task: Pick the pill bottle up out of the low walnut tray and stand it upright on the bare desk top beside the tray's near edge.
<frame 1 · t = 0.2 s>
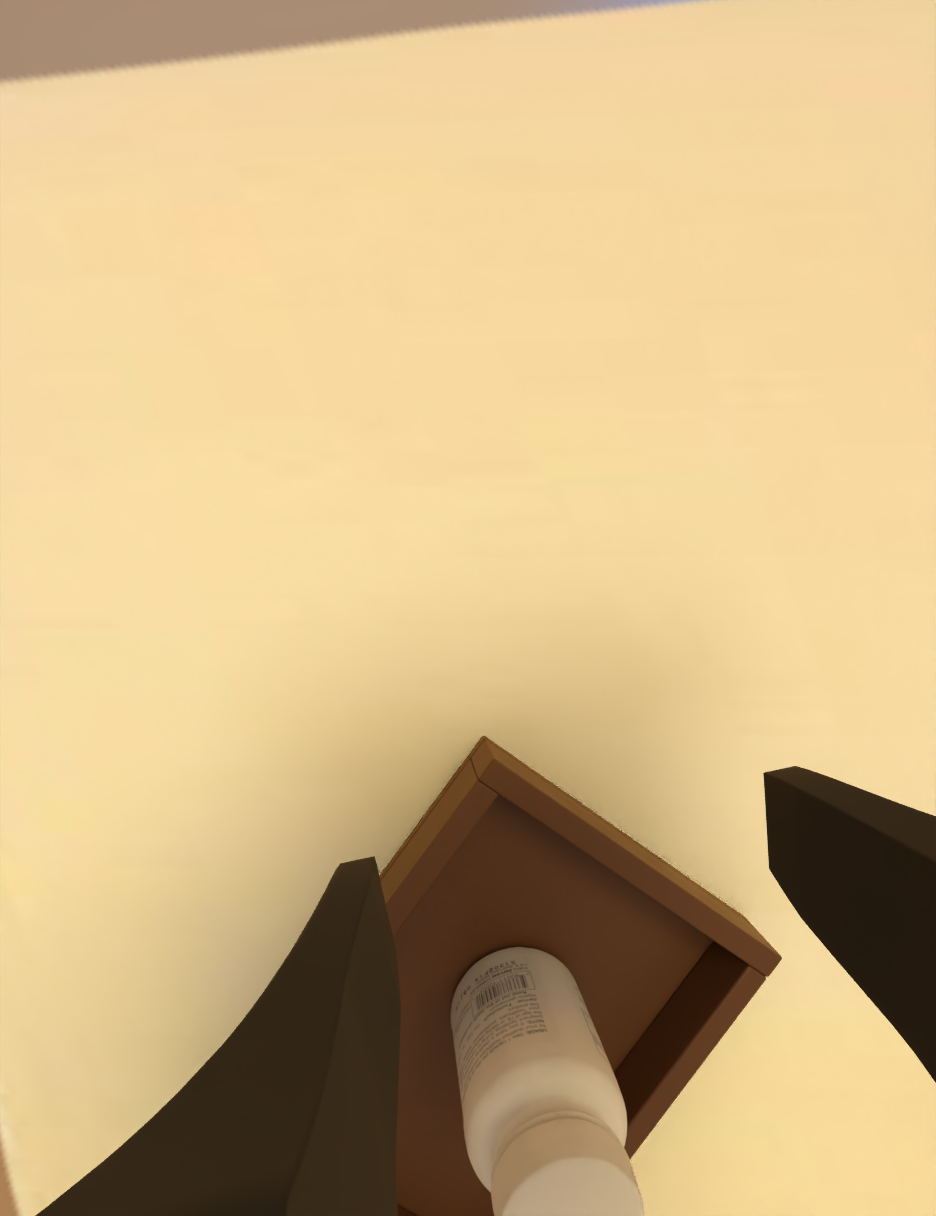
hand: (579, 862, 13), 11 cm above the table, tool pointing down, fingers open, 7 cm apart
pill bottle: (513, 999, 24), resting on tray
tray: (483, 1012, 24), on the table
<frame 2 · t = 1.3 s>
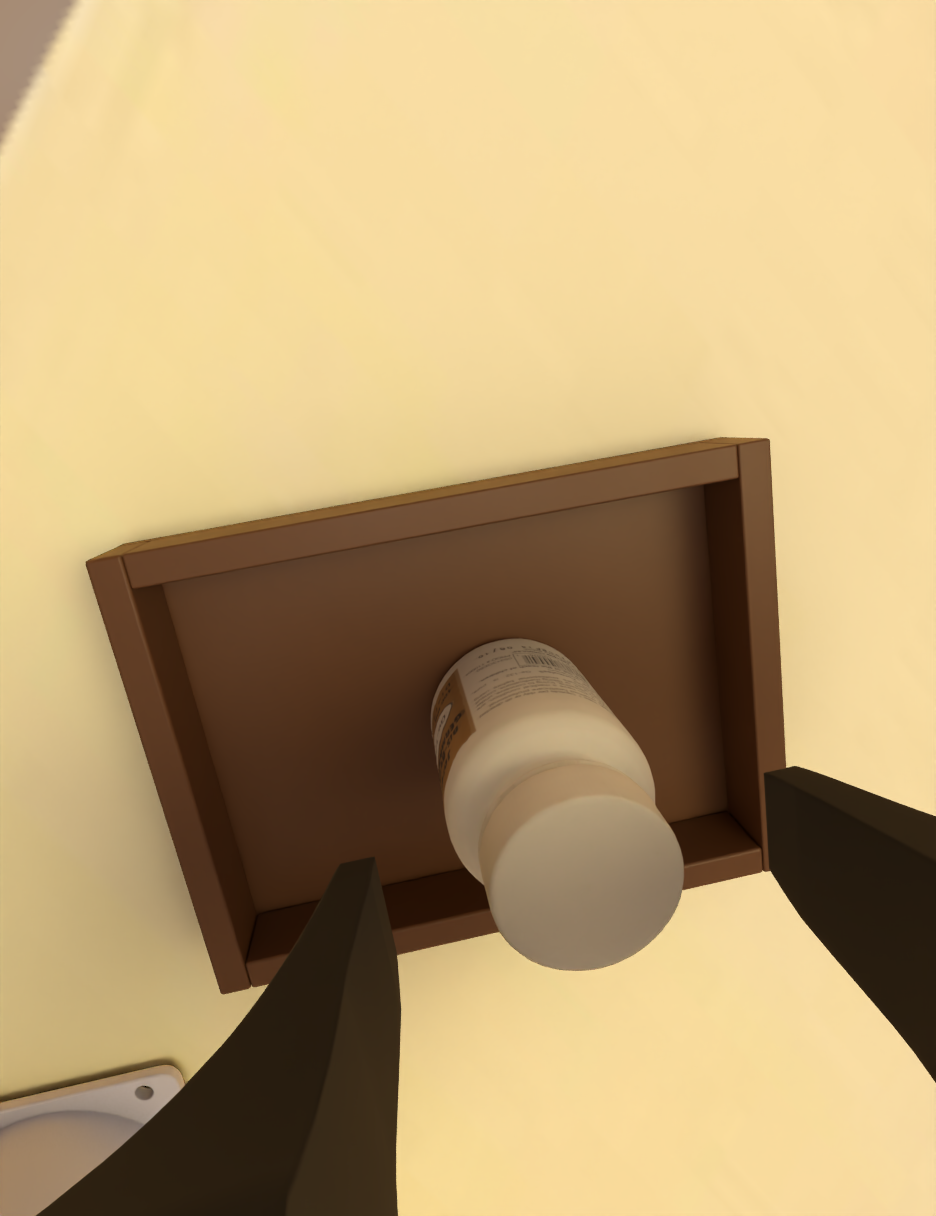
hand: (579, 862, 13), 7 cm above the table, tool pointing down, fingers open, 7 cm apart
pill bottle: (507, 709, 20), resting on tray
tray: (468, 696, 19), on the table
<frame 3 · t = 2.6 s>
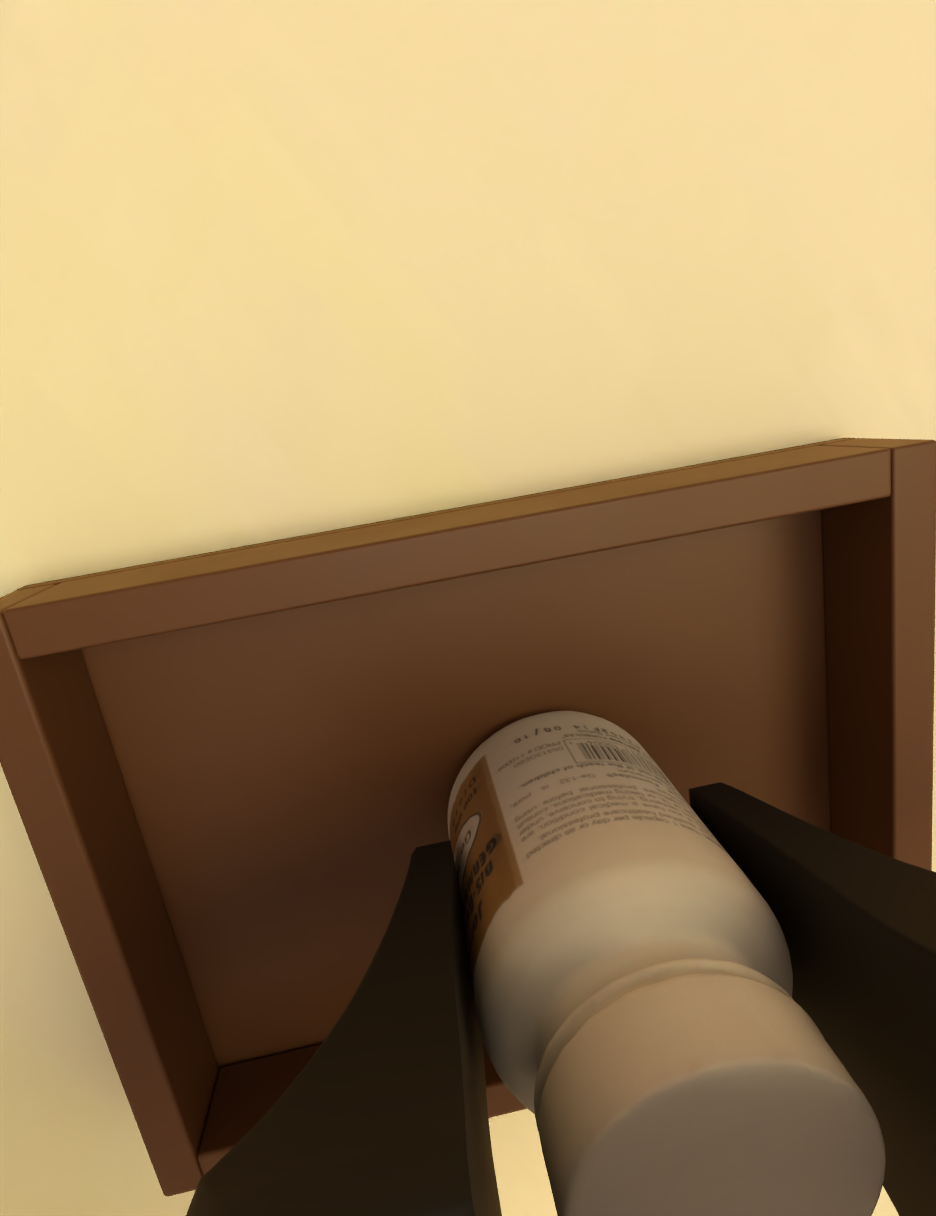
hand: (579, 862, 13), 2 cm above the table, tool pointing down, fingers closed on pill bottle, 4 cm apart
pill bottle: (549, 799, 15), resting on tray, touching gripper
tray: (498, 783, 15), on the table
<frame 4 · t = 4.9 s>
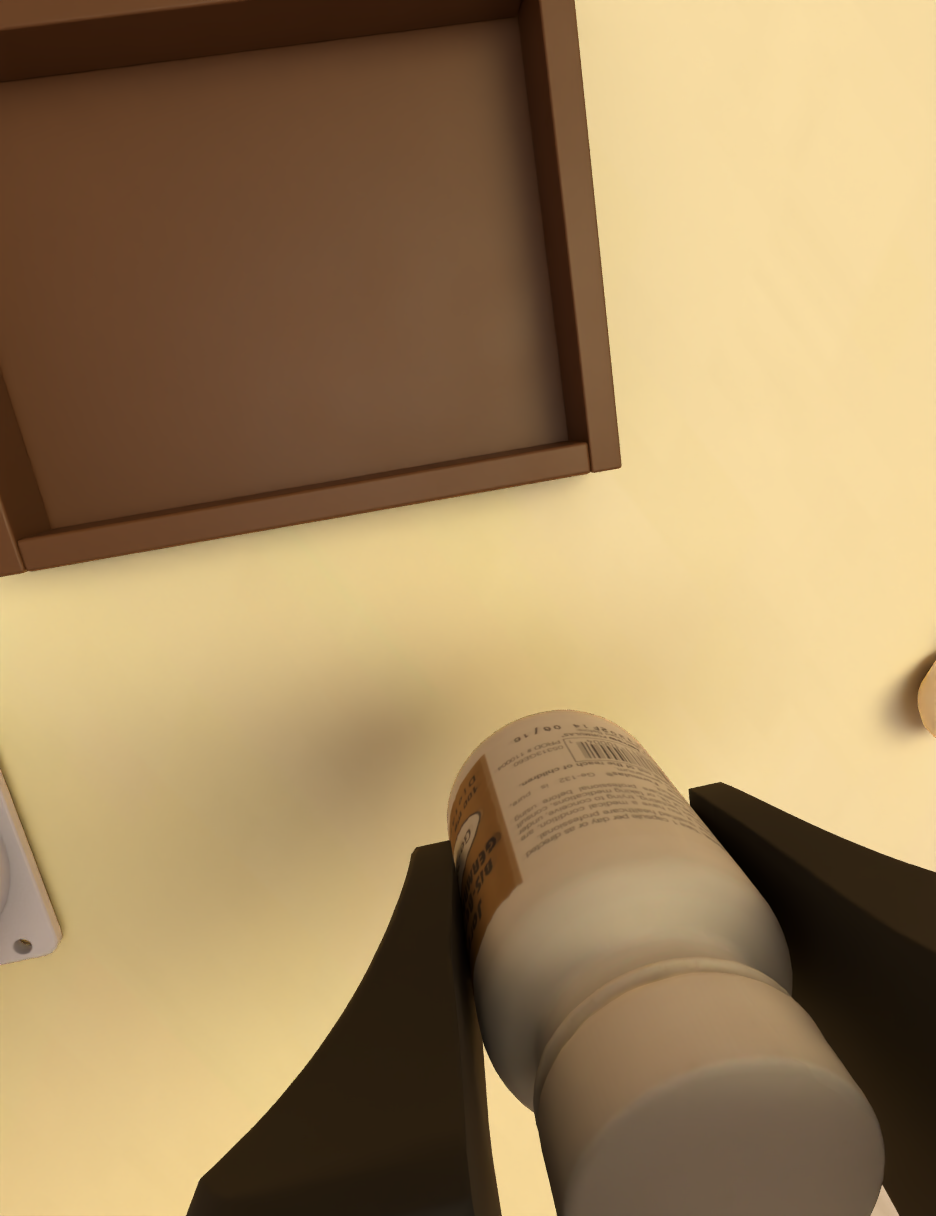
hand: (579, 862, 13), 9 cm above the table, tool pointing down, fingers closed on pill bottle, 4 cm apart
pill bottle: (549, 798, 15), point 7 cm above the table, touching gripper
tray: (276, 287, 18), on the table
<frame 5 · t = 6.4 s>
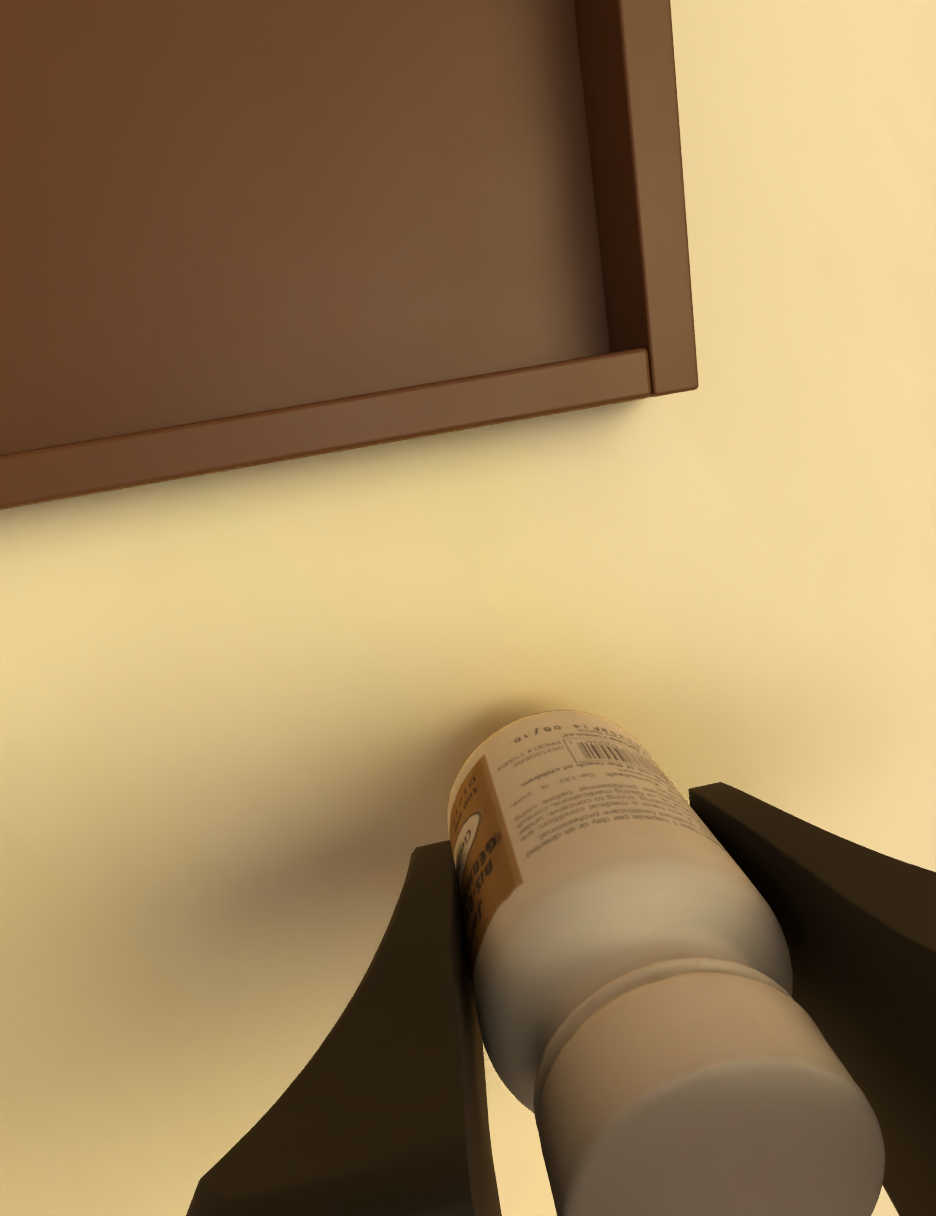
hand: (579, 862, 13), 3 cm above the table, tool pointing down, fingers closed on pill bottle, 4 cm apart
pill bottle: (549, 799, 15), point 1 cm above the table, touching gripper
tray: (172, 118, 12), on the table
when the fingers open (2 cm above the table, at t = 7.3 s): pill bottle stays where it is, on the table.
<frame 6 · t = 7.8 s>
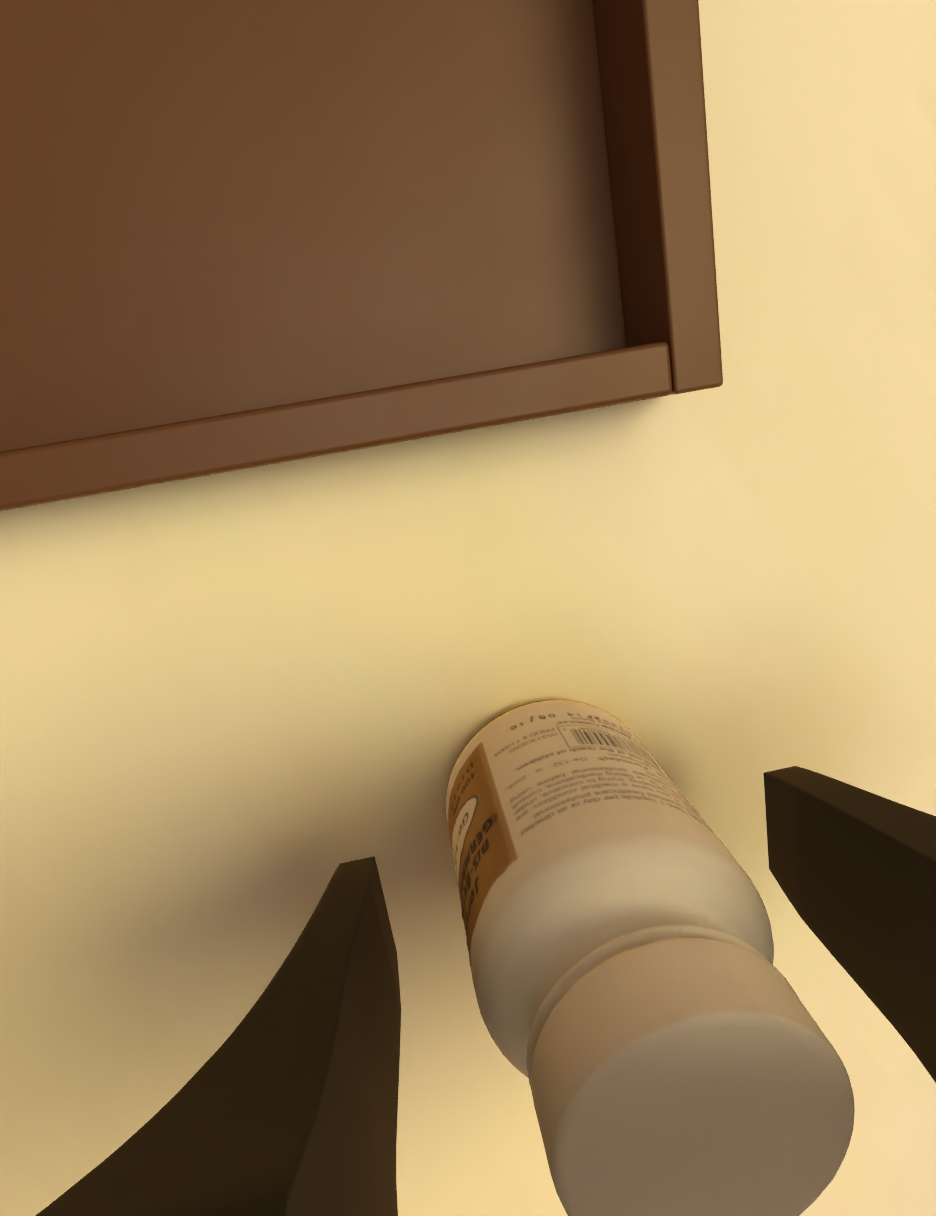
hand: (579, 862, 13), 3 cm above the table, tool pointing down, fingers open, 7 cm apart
pill bottle: (544, 786, 15), on the table
tray: (158, 96, 11), on the table
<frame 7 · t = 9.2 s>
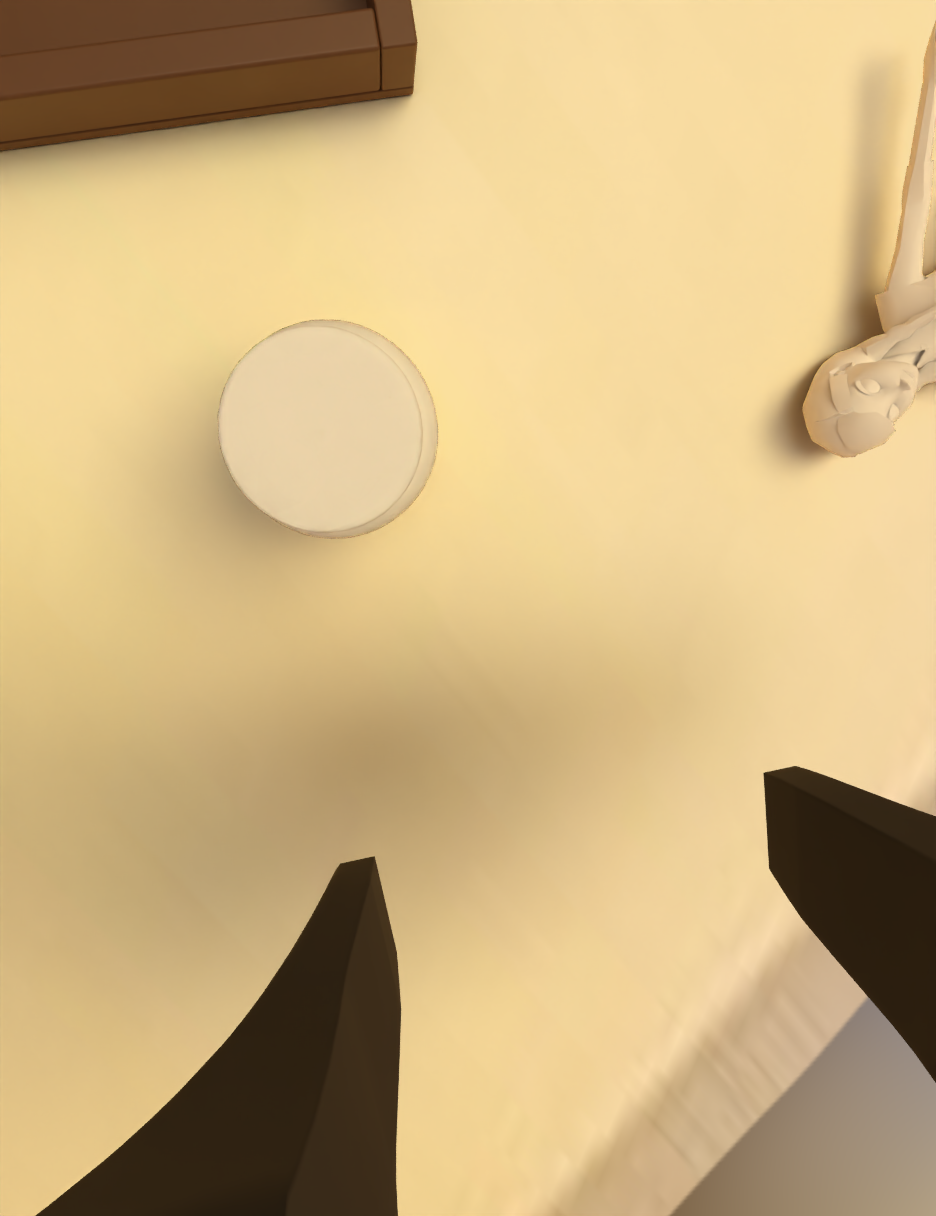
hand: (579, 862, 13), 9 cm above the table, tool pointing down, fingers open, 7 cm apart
pill bottle: (345, 431, 19), on the table
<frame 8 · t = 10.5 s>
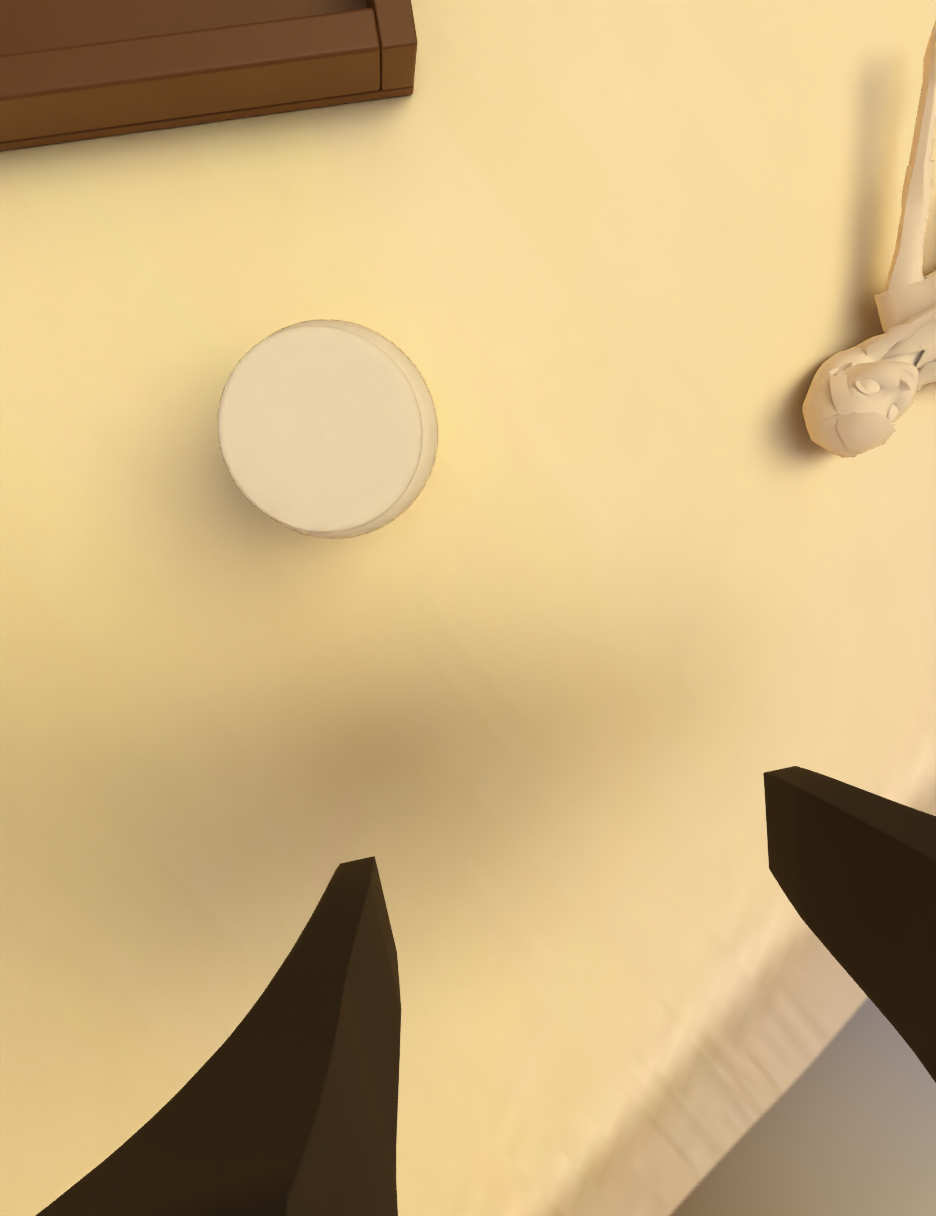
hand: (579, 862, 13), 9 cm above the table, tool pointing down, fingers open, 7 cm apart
pill bottle: (345, 431, 19), on the table
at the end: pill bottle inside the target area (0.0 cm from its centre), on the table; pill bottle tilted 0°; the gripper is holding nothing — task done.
